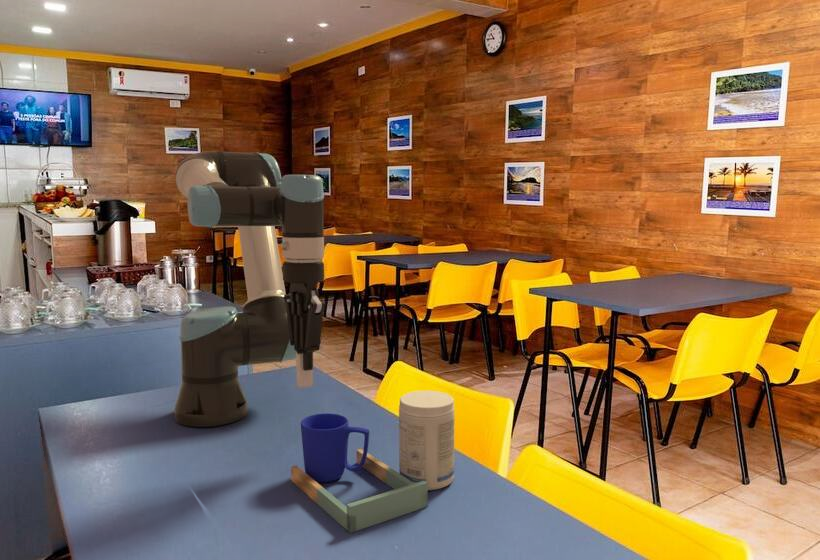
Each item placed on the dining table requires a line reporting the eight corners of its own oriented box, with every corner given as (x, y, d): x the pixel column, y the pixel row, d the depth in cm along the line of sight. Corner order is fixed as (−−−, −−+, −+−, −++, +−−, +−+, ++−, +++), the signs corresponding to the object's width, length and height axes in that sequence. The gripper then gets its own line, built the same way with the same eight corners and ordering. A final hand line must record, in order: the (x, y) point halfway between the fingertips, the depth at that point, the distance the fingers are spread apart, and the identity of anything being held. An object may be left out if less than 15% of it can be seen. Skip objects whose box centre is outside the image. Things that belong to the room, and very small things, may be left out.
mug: (362, 491, 104) (362, 433, 102) (294, 484, 106) (293, 427, 105) (374, 470, 112) (375, 416, 110) (311, 464, 114) (310, 411, 113)
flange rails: (291, 480, 107) (290, 466, 107) (361, 461, 115) (361, 448, 115) (317, 503, 99) (317, 489, 99) (390, 481, 107) (390, 468, 107)
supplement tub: (444, 465, 114) (446, 388, 112) (461, 489, 105) (463, 405, 103) (392, 471, 112) (393, 391, 110) (405, 495, 103) (406, 409, 101)
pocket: (317, 503, 99) (317, 480, 99) (390, 481, 107) (391, 459, 107) (350, 533, 91) (350, 507, 90) (427, 506, 99) (427, 482, 98)
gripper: (269, 258, 117) (272, 380, 120) (299, 264, 106) (301, 398, 109) (306, 256, 121) (308, 374, 124) (338, 262, 111) (339, 391, 114)
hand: (305, 385), depth 117 cm, fingers closed
